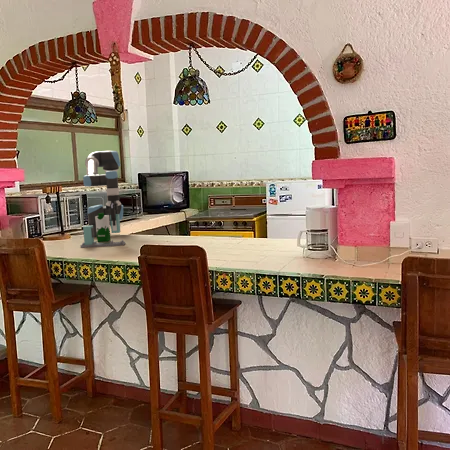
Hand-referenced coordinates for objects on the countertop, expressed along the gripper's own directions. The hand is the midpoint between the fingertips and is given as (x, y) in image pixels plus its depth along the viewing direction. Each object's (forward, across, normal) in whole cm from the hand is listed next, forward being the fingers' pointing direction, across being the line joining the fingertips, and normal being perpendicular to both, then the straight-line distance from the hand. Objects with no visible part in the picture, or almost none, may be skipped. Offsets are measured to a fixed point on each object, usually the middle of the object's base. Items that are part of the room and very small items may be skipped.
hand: (115, 229), depth 317 cm
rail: (+10, 0, -9) cm, 13 cm away
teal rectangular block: (+9, 0, -18) cm, 20 cm away
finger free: (+2, 0, 0) cm, 2 cm away
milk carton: (+10, -21, -13) cm, 27 cm away
